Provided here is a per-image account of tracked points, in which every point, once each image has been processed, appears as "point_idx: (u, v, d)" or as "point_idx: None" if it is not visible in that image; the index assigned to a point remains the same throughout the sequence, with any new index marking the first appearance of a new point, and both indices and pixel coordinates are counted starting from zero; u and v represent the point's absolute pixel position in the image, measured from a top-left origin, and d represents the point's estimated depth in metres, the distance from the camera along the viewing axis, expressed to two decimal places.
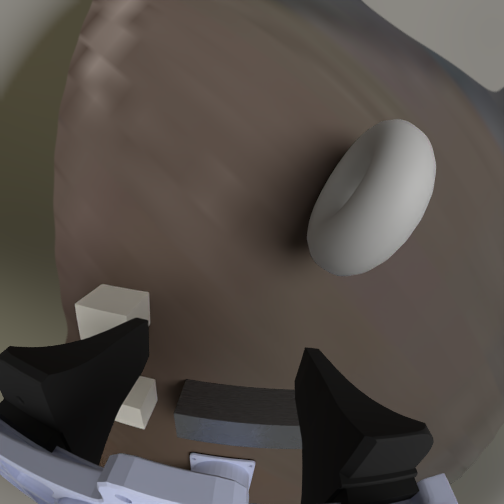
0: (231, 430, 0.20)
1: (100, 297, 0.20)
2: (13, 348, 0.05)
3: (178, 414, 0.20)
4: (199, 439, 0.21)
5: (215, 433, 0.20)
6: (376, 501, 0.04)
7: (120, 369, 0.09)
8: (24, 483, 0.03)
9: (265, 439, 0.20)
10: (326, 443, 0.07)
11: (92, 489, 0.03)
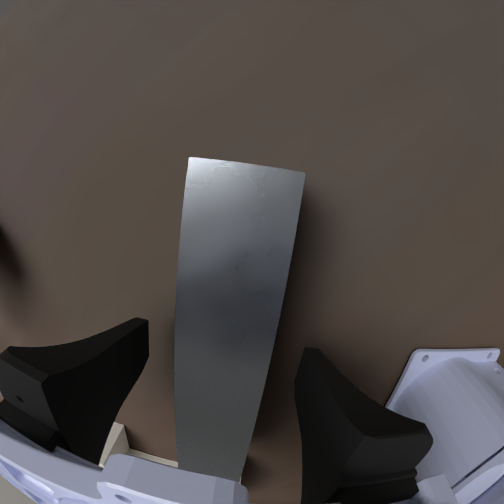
0: (202, 431, 0.11)
1: None
2: (13, 348, 0.05)
3: None
4: (238, 465, 0.11)
5: (216, 448, 0.11)
6: (376, 501, 0.04)
7: (120, 369, 0.09)
8: (24, 483, 0.03)
9: (225, 390, 0.10)
10: (326, 443, 0.07)
11: (92, 489, 0.03)
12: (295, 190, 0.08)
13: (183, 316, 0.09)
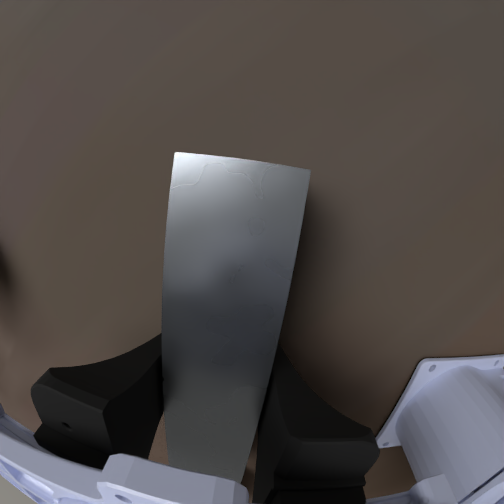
0: (195, 450, 0.10)
1: None
2: (56, 370, 0.05)
3: None
4: None
5: (211, 467, 0.10)
6: None
7: (162, 381, 0.09)
8: (24, 483, 0.03)
9: (218, 411, 0.09)
10: (269, 441, 0.07)
11: (92, 489, 0.03)
12: (298, 190, 0.07)
13: (171, 333, 0.08)
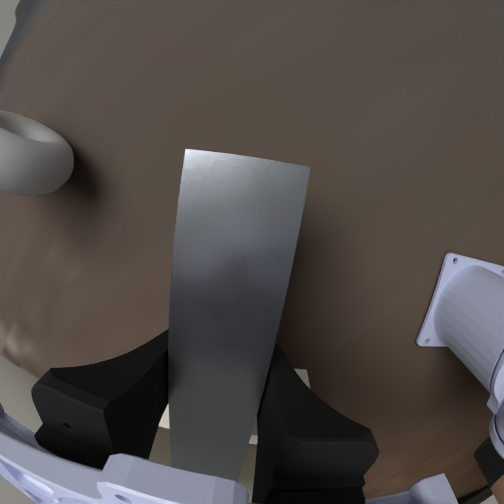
0: (197, 436, 0.10)
1: None
2: (56, 370, 0.05)
3: None
4: (234, 471, 0.11)
5: (212, 454, 0.11)
6: None
7: (163, 381, 0.09)
8: (24, 483, 0.03)
9: (221, 396, 0.10)
10: (268, 441, 0.07)
11: (92, 489, 0.03)
12: (299, 186, 0.08)
13: (178, 319, 0.09)
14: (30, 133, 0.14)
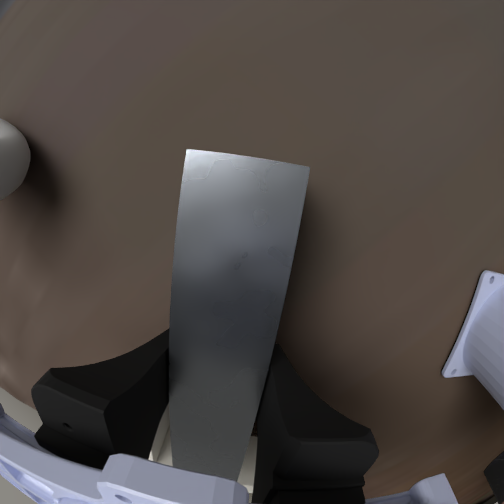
0: (198, 435, 0.10)
1: None
2: (56, 371, 0.05)
3: None
4: (234, 470, 0.11)
5: (212, 452, 0.11)
6: None
7: (163, 381, 0.09)
8: (24, 483, 0.03)
9: (221, 394, 0.10)
10: (268, 441, 0.07)
11: (92, 489, 0.03)
12: (298, 185, 0.08)
13: (179, 317, 0.09)
14: None
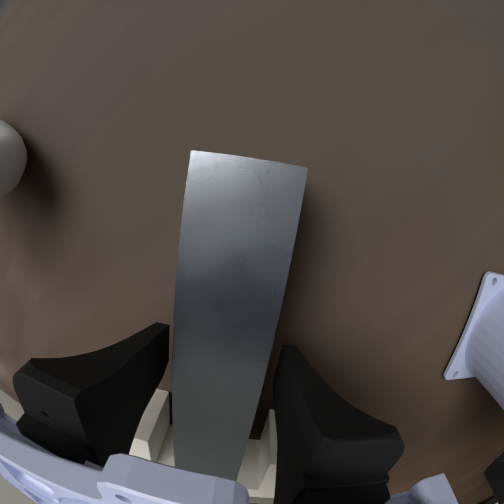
0: (199, 428, 0.11)
1: None
2: (36, 361, 0.05)
3: None
4: (235, 464, 0.11)
5: (213, 446, 0.11)
6: None
7: (144, 376, 0.09)
8: (24, 483, 0.03)
9: (223, 387, 0.10)
10: (294, 442, 0.07)
11: (92, 489, 0.03)
12: (297, 185, 0.08)
13: (183, 311, 0.09)
14: None
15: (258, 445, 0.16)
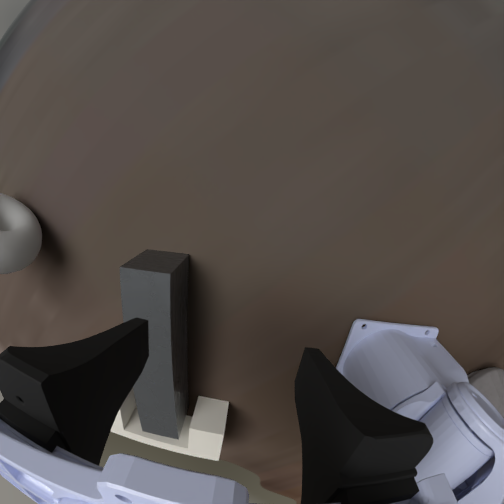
0: (148, 400, 0.19)
1: None
2: (13, 348, 0.05)
3: (142, 428, 0.21)
4: (174, 425, 0.20)
5: (158, 412, 0.20)
6: (376, 501, 0.04)
7: (120, 369, 0.09)
8: (24, 483, 0.03)
9: (154, 375, 0.19)
10: (326, 443, 0.07)
11: (92, 489, 0.03)
12: (166, 282, 0.17)
13: None
14: (6, 212, 0.18)
15: None
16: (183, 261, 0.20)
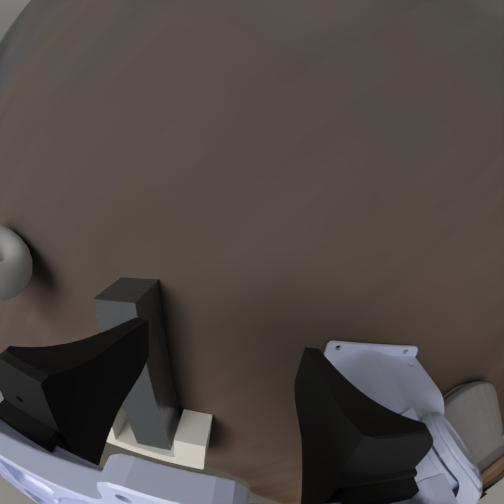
0: (137, 415, 0.20)
1: None
2: (13, 348, 0.05)
3: (137, 441, 0.21)
4: (163, 437, 0.21)
5: (148, 425, 0.20)
6: (376, 501, 0.04)
7: (120, 369, 0.09)
8: (24, 483, 0.03)
9: (137, 393, 0.19)
10: (326, 443, 0.07)
11: (92, 489, 0.03)
12: (133, 310, 0.18)
13: None
14: None
15: None
16: (151, 287, 0.20)
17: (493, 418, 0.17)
